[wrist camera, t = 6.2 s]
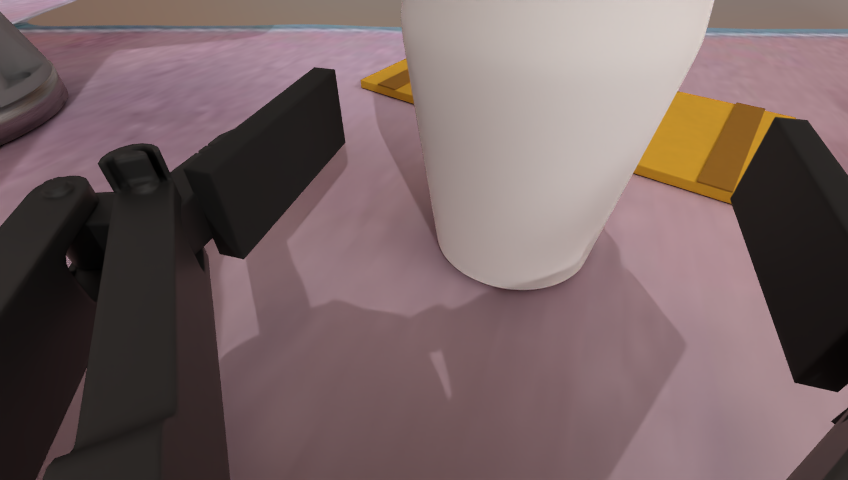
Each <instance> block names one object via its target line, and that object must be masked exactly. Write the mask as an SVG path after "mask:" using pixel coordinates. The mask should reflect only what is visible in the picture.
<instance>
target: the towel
mask: <svg viewBox="0 0 848 480" xmlns="http://www.w3.org/2000/svg"><path fill="white" fill-rule="evenodd" d="M361 87H362V88H365V89H368V90H371V91H374V92H378V93H381V94H384V95H387V96H390V97H393V98H397V99H400V100H403V101H406V102H409V103H413V104H414V100H413V94H412V89H411V83H410V77H409V71H408V65H407V59H404V60H402V61H400V62H398V63H395V64H393V65H391V66H389V67H387V68H385V69H383V70H381V71H379V72H376V73H374V74H372V75H370V76H368V77H366V78H364V79H362V80H361ZM775 117H782V118H791V119H796V118H795V117H791V116H786V115H782V114H777V113H773V112H768V111H765V109H764V108H759V107H755V106H750V105H746V104H741V103H736V104H732V103H728V102H723V101H719V100H714V99H710V98H705V97H701V96H696V95H692V94H687V93H683V92H679V91H677V93H676V95H675V97H674V99H673V100H672V102H671V104H670V106H669V108H668V110H667V112H666V113H665V115H664V117H663V119H662V121H661V123H660V124H659V126H658V128H657V130H656V132H655V134H654V136H653V137H652V139H651V141H650V143H649V145H648V147H647V148H646V150H645V152H644V154H643V156H642V158H641V159H640V161H639V163H638V165H637V167H636V169H635V171H634V172H633V173H635V174H638V175H641V176H644V177H647V178H650V179H654V180H657V181H660V182H663V183H666V184H670V185H673V186H676V187H679V188H682V189H685V190H689V191H692V192H695V193H698V194H701V195H704V196H708V197H711V198H714V199H717V200H720V201H723V202H727V203H730V204H732V203H731V200H730V198H731V196H732V194H733V193H734V191H735V189H736V187H737V185H738V183H739V182H740V180H741V178H742V176H743V174H744V172H745V171H746V169H747V167H748V165H749V163H750V162H751V160H752V158H753V156H754V154H755V152H756V151H757V149H758V147H759V145H760V143H761V141H762V140H763V138H764V136H765V134H766V132H767V130H768V129H769V127H770V125H771V123H772V121H773V120H774V118H775Z"/></svg>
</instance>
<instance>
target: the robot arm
mask: <svg viewBox="0 0 848 480" xmlns="http://www.w3.org/2000/svg"><path fill="white" fill-rule="evenodd" d="M67 96H68V92H67V89H66V87H65V86H64V84H63V82H62V80H61V79H60V77H59V75H58V73H57V71H56V70H55V68H54V66H53V64H52V63H51V62H50V61H49V60H48V59H47V58H46V57H45V56H44V55H43V54H42V53H41V52H40V51H39V50H38V49H37V48H36V47H35V46H34V45H33V44H32V43H31V42H30V41H29V40H28V39H27V38H26V37H25V36H24V35H23V34H22V33H21V32H20V31H19V30H18V29H17V28H16V27H15V26H14V25H13V24H12V23H11V22H10V21H9V20H8V19H7V18H6V17H5V16H4V15H3V14H2V13H1V12H0V145H2V144H4V143H7V142H9V141H11V140H13V139H15V138H17V137H19V136H21V135H23V134H25V133H27V132H29V131H31V130H33V129H34V128H36V127H38V126H39V125H41V124H42V123H44V122H45V121H47V120H48V119H50V118H51V117H52V116H53V115H54V114H56V113H57V112H58V111H59V110H60V109H61V107H62V106H63V105H64V103H65V102H66V100H67ZM344 143H345V137H344V130H343V123H342V116H341V109H340V102H339V95H338V88H337V81H336V74H335V70H334V69H324V68H315V67H314V68H313V69H312V70H310V71H309V72H308V73H306V74H305V75H304V76H303V77H301V78H300V79H299V80H297V81H296V82H295V83H294V84H292V85H291V86H290V87H288V88H287V89H286V90H284V91H283V92H282V93H281V94H279V95H278V96H277V97H275V98H274V99H273V100H271V101H270V102H269V103H268V104H266V105H265V106H264V107H262V108H261V109H260V110H258V111H257V112H256V113H255V114H253V115H252V116H251V117H249V118H248V119H247V120H245V121H244V122H243V123H242V124H240V125H239V126H238V127H236V128H235V129H233V130H230V131H228V132H226V133H223V134H221V135H219V136H218V137H217V138H215V139H214V140H213V141H211V142H210V143H209V144H208V146H205V147H203V148H202V149H201V150H199V153H195V154H194V155H193V156H191V157H190V158H189V159H187V160H186V161H185V162H183V163H182V164H181V165H180V166H178V167H177V168H176V169H174V170H173V171H172V172H169V170H168V168H167V165H166V163H165V161H164V159H163V157H162V155H161V152H160V150H159V148H158V147H157V146H154V145H152V144H143V143H142V144H132V145H128V146H124V147H120V148H118V149H116V150H113V151H111V152H109V153H108V154H106V155H105V156H103V157H102V158H101V159H100V161H99V162H98V165H99V167H100V168H101V170H102V172H103V174H104V175H105V177H106V179H107V181H108V182H109V184H110V186H111V187H112V189H113V191H114V192H101V193H95V192H94V190H93V189H92V187H91V185H90V184H89V182H88V181H87V179H86V178H84V177H81V176H66V177H57V178H53V180H52V179H50V180H48V181H46V182H44V183H43V184H41V185H40V186H38V187H36V188H35V189H33V190H32V191H31V192H30V193H29V194H28V195H27V196H26V197H25V198H24V200H23V201H22V202H21V203H20V204H19V206H18V207H17V208H16V209H15V210H14V211H13V213H12V214H11V215H10V216H9V217H8V218H7V220H6V221H5V222H4V223H3V224H2V225H1V227H0V480H36V478H37V476H38V473H39V471H40V469H41V467H42V465H43V462H44V460H45V458H46V456H47V454H48V451H49V449H50V447H51V445H52V443H53V441H54V438H55V436H56V434H57V432H58V430H59V427H60V425H61V423H62V421H63V419H64V416H65V414H66V412H67V410H68V408H69V405H70V403H71V401H72V399H73V397H74V394H75V392H76V390H77V388H78V386H79V383H80V381H81V379H82V377H83V375H84V372H85V370H86V368H87V372H86V378H85V385H84V391H83V397H82V404H81V410H80V416H79V423H78V429H77V435H76V441H75V445H74V448H73V450H72V451H71V452H70V453H69V454H66V455H63V456H61V457H58V458H55V459H54V460H53V461H52V462H51V464H50V465H49V466H48V467H47V469H46V472H45V474H44V477H43V480H230V473H229V463H228V453H227V443H226V432H225V422H224V412H223V402H222V392H221V381H220V371H219V361H218V351H217V341H216V330H215V320H214V310H213V300H212V290H211V279H210V269H209V259H208V255H207V253H206V250H205V248H204V246H205V245H206V244H207V243H208V242H209V241H210V240H211V239H212V238H213V239H214V242H215V244H216V246H217V248H218V251H219V253H220V254H223V255H227V256H231V257H236V258H240V259H244V258H245V257H246V256H247V255H248V254H249V253H250V252H251V250H252V249H253V248H254V247H255V246H256V245H257V244H258V242H259V241H260V240H261V239H262V238H263V237H264V235H265V234H266V233H267V232H268V231H269V230H270V229H271V227H272V226H273V225H274V224H275V223H276V222H277V221H278V219H279V218H280V217H281V216H282V215H283V214H284V212H285V211H286V210H287V209H288V208H289V207H290V206H291V204H292V203H293V202H294V201H295V200H296V199H297V198H298V196H299V195H300V194H301V193H302V192H303V191H304V189H305V188H306V187H307V186H308V185H309V184H310V183H311V181H312V180H313V179H314V178H315V177H316V176H317V174H318V173H319V172H320V171H321V170H322V169H323V168H324V166H325V165H326V164H327V163H328V162H329V161H330V160H331V158H332V157H333V156H334V155H335V154H336V153H337V151H338V150H339V149H340V148H341V147H342V146H343V145H344ZM730 200H731V203H732V206H733V209H734V212H735V215H736V217H737V220H738V223H739V226H740V229H741V232H742V235H743V237H744V240H745V243H746V246H747V249H748V252H749V254H750V257H751V260H752V263H753V266H754V269H755V271H756V274H757V277H758V280H759V283H760V286H761V289H762V291H763V294H764V297H765V300H766V303H767V306H768V308H769V311H770V314H771V317H772V320H773V323H774V325H775V328H776V331H777V334H778V337H779V340H780V343H781V345H782V348H783V351H784V354H785V357H786V360H787V362H788V365H789V368H790V371H791V374H792V377H793V379H794V382H795V383H799V384H803V385H808V386H812V387H817V388H821V389H826V390H830V391H835V392H839V391H840V390H841V389H842V388H843V387H845V386H846V385H847V384H848V175H847V174H846V172H845V171H844V170H843V168H842V167H841V165H840V164H839V163H838V161H837V160H836V159H835V157H834V156H833V155H832V153H831V152H830V150H829V149H828V148H827V146H826V145H825V144H824V142H823V141H822V140H821V138H820V137H819V135H818V134H817V133H816V131H815V130H814V129H813V127H812V126H811V124H810V123H809V122H808V120H800V119H791V118H782V117H775V118H774V120H773V121H772V123H771V125H770V127H769V129H768V130H767V132H766V134H765V136H764V138H763V140H762V141H761V143H760V145H759V147H758V149H757V151H756V152H755V154H754V156H753V158H752V160H751V162H750V163H749V165H748V167H747V169H746V171H745V172H744V174H743V176H742V178H741V180H740V182H739V183H738V185H737V187H736V189H735V191H734V193H733V194H732V196H731V198H730ZM66 255H67V257H68V258H69V259H70V261H71V262H72V263H71V265H70V267H69V268H68V266H67V264H66ZM831 422H833V423H834V424H835V425H834V426H833V427H832V429H831V430H830V431H829V432H828V433H827V434H826V435H825V436H824V438H823V439H822V440H821V441H820V442H819V443H818V444H817V445H816V447H815V448H814V449H813V450H812V451H811V452H810V453H809V455H808V456H807V457H806V458H805V459H804V460H803V461H802V462H801V464H800V465H799V466H798V467H797V468H796V469H795V470H794V471H793V473H792V474H791V475H790V476H789V477H788V478H787V479H786V480H848V408H847V409H846V410H845V411H843V412H842V413H841V414H840V415H838V416H837V417H836V418H835V419H833V420H832V421H831Z"/></svg>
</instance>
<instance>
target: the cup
mask: <svg viewBox="0 0 848 480" xmlns="http://www.w3.org/2000/svg"><path fill="white" fill-rule="evenodd" d="M713 4H714V0H402V10H401V11H402V12H401V24H402V33H403V42H404V48H405V53H406V59H407V65H408V71H409V77H410V83H411V89H412V94H413V100H414V106H415V112H416V117H417V123H418V129H419V135H420V140H421V146H422V152H423V158H424V163H425V169H426V175H427V181H428V186H429V192H430V198H431V204H432V209H433V215H434V221H435V226H436V232H437V238H438V243H439V246H440V248H441V251H442V252H443V254H444V256H445V257H446V258H447V260H448V261H449V262H450V263H451V264H452V265H453V266H454V267H455V268H457V269H458V270H459V271H461V272H462V273H464V274H465V275H467V276H469V277H470V278H473V279H475V280H477V281H479V282H482V283H484V284H488V285H491V286H495V287H499V288H505V289H513V290H533V289H541V288H545V287H550V286H553V285H556V284H558V283H561V282H563V281H565V280H567V279H569V278H570V277H572V276H573V275H574V274H575V273H576V272H578V271H579V269H580V268H581V267H582V266H583V264H584V262H585V261H586V259H587V257H588V255H589V253H590V251H591V250H592V248H593V246H594V244H595V242H596V240H597V239H598V237H599V235H600V233H601V231H602V229H603V228H604V226H605V224H606V222H607V220H608V218H609V217H610V215H611V213H612V211H613V209H614V207H615V205H616V204H617V202H618V200H619V198H620V196H621V194H622V193H623V191H624V189H625V187H626V185H627V183H628V182H629V180H630V178H631V176H632V174H633V172H634V171H635V169H636V167H637V165H638V163H639V161H640V159H641V158H642V156H643V154H644V152H645V150H646V148H647V147H648V145H649V143H650V141H651V139H652V137H653V136H654V134H655V132H656V130H657V128H658V126H659V124H660V123H661V121H662V119H663V117H664V115H665V113H666V112H667V110H668V108H669V106H670V104H671V102H672V100H673V99H674V97H675V95H676V93H677V91H678V89H679V87H680V86H681V84H682V82H683V80H684V78H685V76H686V74H687V73H688V71H689V69H690V67H691V65H692V63H693V61H694V60H695V57H696V55H697V53H698V51H699V49H700V47H701V44H702V42H703V40H704V36H705V33H706V29H707V26H708V22H709V18H710V14H711V11H712V8H713Z"/></svg>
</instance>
